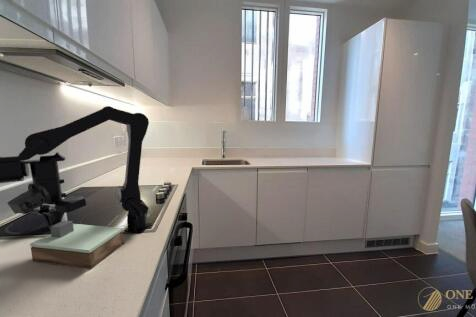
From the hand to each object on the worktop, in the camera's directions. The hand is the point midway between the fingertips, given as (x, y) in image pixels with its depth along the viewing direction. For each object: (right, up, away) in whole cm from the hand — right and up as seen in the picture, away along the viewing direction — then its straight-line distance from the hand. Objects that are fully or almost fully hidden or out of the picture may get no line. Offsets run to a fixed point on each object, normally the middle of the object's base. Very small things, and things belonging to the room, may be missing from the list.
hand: (54, 230), depth 64 cm
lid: (+8, -2, -1) cm, 9 cm away
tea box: (+8, -6, -1) cm, 10 cm away
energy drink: (-12, -4, +16) cm, 20 cm away
